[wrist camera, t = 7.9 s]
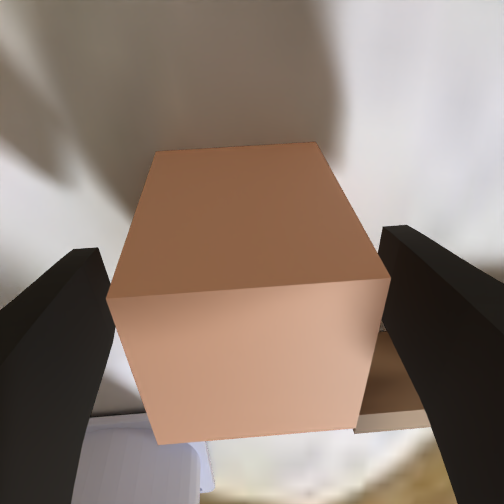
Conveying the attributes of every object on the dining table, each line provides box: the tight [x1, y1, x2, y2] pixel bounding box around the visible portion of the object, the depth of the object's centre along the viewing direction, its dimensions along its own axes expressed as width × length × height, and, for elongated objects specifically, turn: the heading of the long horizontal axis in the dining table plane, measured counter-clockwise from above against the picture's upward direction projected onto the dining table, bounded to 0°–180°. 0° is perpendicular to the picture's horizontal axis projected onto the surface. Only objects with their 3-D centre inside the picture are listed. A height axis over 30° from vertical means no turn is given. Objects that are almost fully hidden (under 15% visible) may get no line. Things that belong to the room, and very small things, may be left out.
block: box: [106, 142, 391, 445], centre depth 10 cm, size 4×4×6 cm
